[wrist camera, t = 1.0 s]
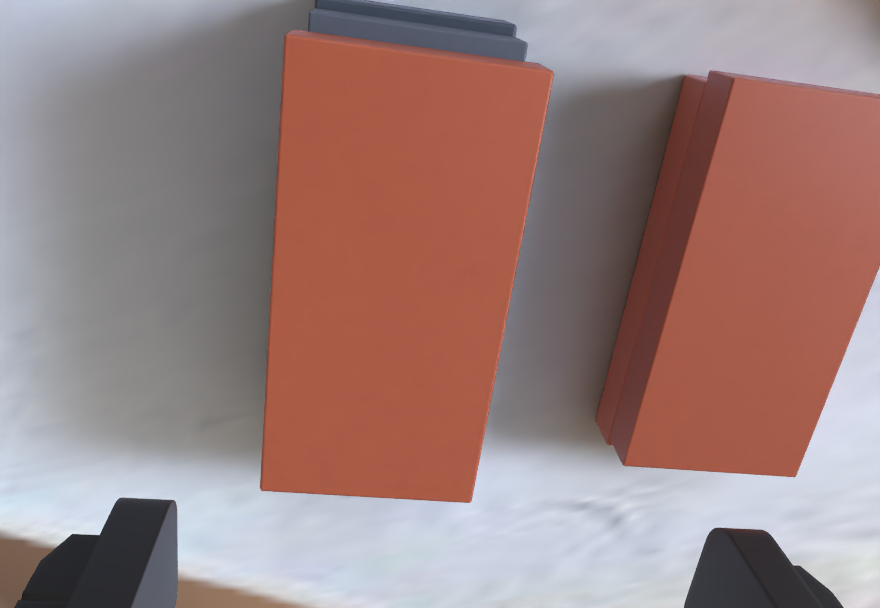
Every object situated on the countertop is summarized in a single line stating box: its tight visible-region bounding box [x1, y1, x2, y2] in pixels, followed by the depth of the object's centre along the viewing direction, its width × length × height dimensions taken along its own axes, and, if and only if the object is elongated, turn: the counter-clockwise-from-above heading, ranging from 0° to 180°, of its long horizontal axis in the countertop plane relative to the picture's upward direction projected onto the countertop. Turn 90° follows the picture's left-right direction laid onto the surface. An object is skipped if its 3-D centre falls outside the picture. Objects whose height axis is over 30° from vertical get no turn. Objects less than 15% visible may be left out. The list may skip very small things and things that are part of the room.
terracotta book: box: [260, 29, 554, 503], centre depth 20 cm, size 12×6×2 cm, turn 172°
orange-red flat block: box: [596, 71, 880, 477], centre depth 24 cm, size 13×6×3 cm, turn 172°
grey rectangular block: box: [308, 0, 528, 62], centre depth 22 cm, size 14×5×4 cm, turn 172°
